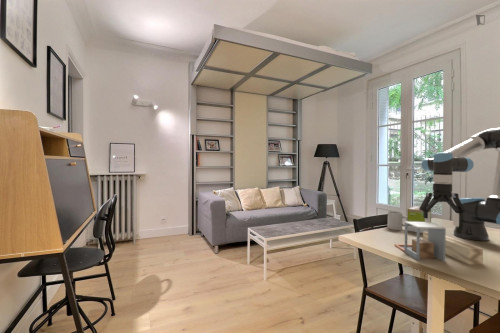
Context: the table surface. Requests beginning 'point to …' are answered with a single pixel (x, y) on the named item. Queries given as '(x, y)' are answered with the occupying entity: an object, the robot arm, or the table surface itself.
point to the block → (424, 248)
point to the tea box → (416, 218)
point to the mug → (395, 220)
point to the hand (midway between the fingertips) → (441, 225)
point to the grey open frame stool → (434, 235)
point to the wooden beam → (461, 250)
